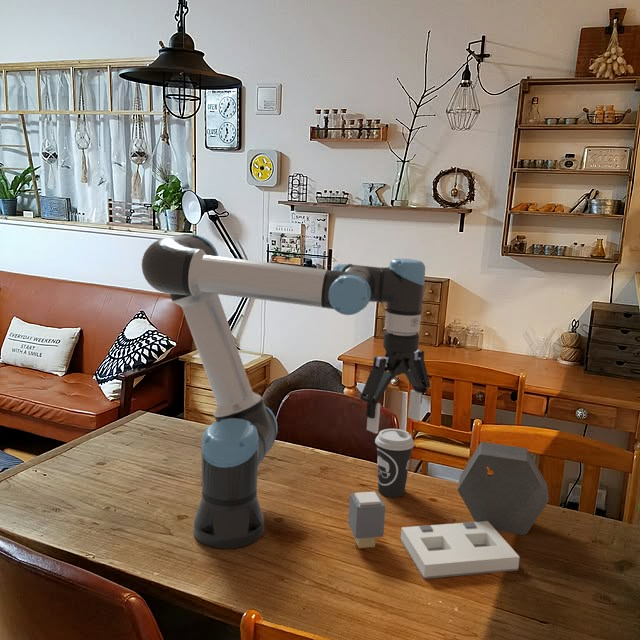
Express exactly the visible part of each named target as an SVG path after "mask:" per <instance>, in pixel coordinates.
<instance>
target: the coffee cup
mask: <svg viewBox="0 0 640 640" xmlns="http://www.w3.org/2000/svg"><path fill="white" fill-rule="evenodd" d="M374 443H375V444H376V451H377V452H376V453H377V454H376V455H377V488H378V489H377V490H378V494H380V495H382V496H385V497H387V498H399V497H401V496H404V494H405V492H406V487H407V486H406V484H407V478H408V474H409V473H408V471H409V466H410V461H411V455H412V449H413V448H414V447H415V442H414V439H413V437H412V434H411V433H409V432H408V431H406V430H403V429H399V428H386V429H385V428H384V429H382V430H380V431H378V435H377V436H376V437H375V439H374Z"/></svg>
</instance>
